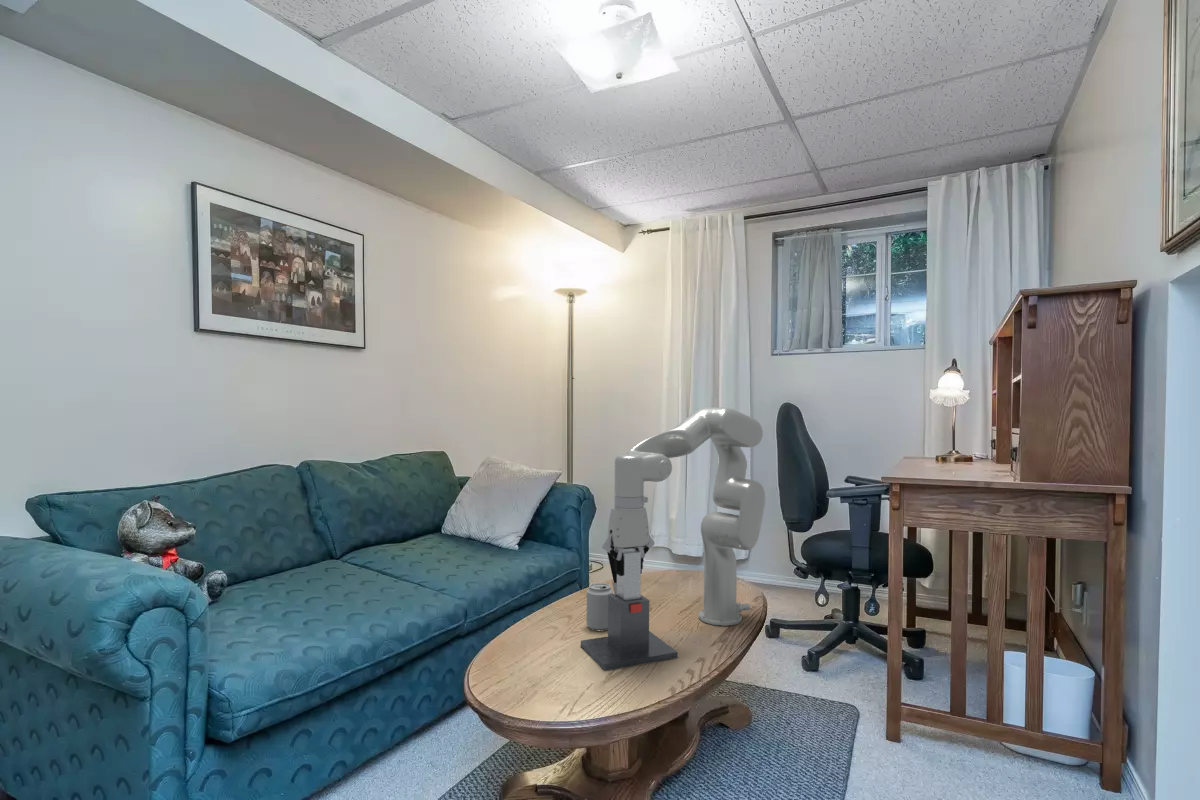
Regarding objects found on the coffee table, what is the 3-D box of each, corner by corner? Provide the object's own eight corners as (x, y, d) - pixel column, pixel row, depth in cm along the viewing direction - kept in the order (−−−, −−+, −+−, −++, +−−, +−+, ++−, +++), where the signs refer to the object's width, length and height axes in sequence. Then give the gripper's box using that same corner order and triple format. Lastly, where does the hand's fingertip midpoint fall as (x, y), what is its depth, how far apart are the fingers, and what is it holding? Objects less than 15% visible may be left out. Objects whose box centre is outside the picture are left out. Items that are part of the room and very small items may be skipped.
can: (610, 633, 169) (610, 589, 170) (583, 630, 171) (584, 588, 171) (614, 623, 177) (615, 582, 177) (589, 621, 178) (589, 580, 178)
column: (632, 622, 160) (633, 548, 160) (640, 628, 155) (641, 552, 155) (615, 625, 158) (616, 549, 158) (623, 631, 153) (624, 553, 154)
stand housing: (648, 635, 168) (648, 584, 168) (677, 658, 153) (678, 602, 153) (580, 646, 160) (581, 592, 160) (604, 670, 145) (605, 611, 145)
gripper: (651, 498, 164) (651, 566, 163) (593, 502, 157) (592, 573, 157) (665, 503, 157) (664, 574, 156) (604, 506, 150) (604, 581, 150)
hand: (628, 572), depth 157 cm, fingers closed on column, 4 cm apart
